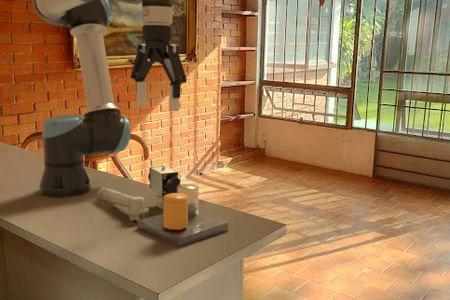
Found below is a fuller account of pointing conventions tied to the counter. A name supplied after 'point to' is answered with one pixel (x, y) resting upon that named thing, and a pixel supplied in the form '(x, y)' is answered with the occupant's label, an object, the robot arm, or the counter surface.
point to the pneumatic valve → (163, 182)
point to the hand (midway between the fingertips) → (157, 108)
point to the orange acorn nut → (175, 211)
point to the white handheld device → (124, 202)
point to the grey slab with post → (197, 222)
